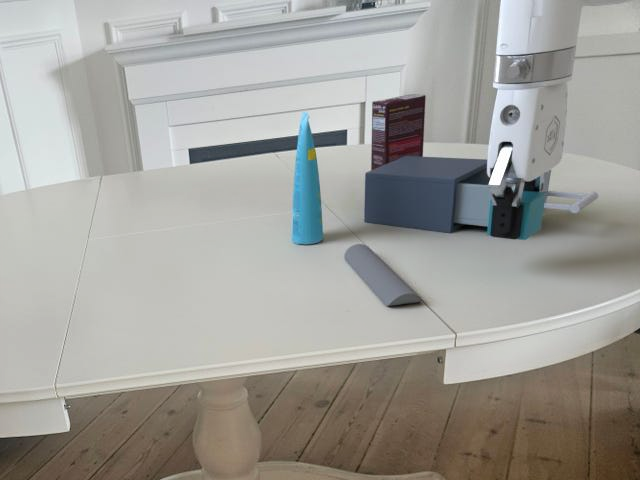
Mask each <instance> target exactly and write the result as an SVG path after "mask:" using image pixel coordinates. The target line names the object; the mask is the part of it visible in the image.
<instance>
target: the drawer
mask: <svg viewBox="0 0 640 480" xmlns="http://www.w3.org/2000/svg"><path fill="white" fill-rule="evenodd" d="M551 174H552V169H550V170H549V171H547V172H546V173H545V174H544V187H543V190H542V192H545V193H546V195H545V203H544V210H543V214H544V213H545V212H546V209H548V210H549V209H551V210H562V211H570V213H572V214H578V213H580V212H581V211H582V210H583V209H585V208H586V207H588V206H589V205H591V204H592V203H593V202H594V201H596V200H597V199H598V198H599V193H598V192H597V191H591V192H589V193H584V192H583V193H582V192H566V191H557V190H556V191H554V190H549V188H550V181H551ZM507 178H516V173H508V176H507ZM490 179H491V178H489V176H488V175H487V169H484V170H482V171H480V172H478V173H476V174H474V175H472V176H470V177H468V178H466V179H464V180H462V181H460V182H458V183H457V190H456V201H455V212H454V223H461V224H465V225H469V226H479V227H487V228H488V220H489V210H490V200H491V199H493V195H492V192H491V191H490V190H489V188H488V186H489V182H490ZM515 185H516V184H509V183H507V186H508V187H511V188H512V190H515ZM548 197H557V198H569V199H570V198H571V199H579V200H578V201H576V202H575V203H574V204H565V203H564V204H563V203H552V202H547V200H548Z"/></svg>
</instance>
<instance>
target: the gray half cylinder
mask: <svg viewBox="0 0 640 480" xmlns="http://www.w3.org/2000/svg"><path fill="white" fill-rule="evenodd" d="M344 260H345V261H346V262H347V264H349V266H350V267H351V268H352V269H353V270H354V271H355V273H357V275H358V276H359V278H361V280H362V281H364V283H365V284H366V285H367V287H369V289H370V290H371V291H372V292H373V293H374V294H375V296H377V298H378V299H379V300H380V301H381V302H382V304H384V305H385V306H388V307H389V306H398V305H408V304H414V303H422V302H423V299H422V297H421V296H420V295H419V294H418V293H417V292H416V291H415V290H414V289H413V288H412V287H411V286H410V285H409V284H408V283H406V282H405V281H404V279H402V277H400V276H399V275H398V274H397V273H396V272H395V270H393V269H392V268H391V267H390V266H389V265H388V264H387V263H386V262H385V261H384V260H383V259H382V258H381V257H380V256H379V255H378V254H376V252H375V251H373V250H372V249H371V248H370V247H369V246H368V245H366V244H363V243H356V244H352V245H351V246H349V247H348V248H347V249H346V250H345V253H344Z"/></svg>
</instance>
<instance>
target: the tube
mask: <svg viewBox="0 0 640 480" xmlns="http://www.w3.org/2000/svg"><path fill="white" fill-rule="evenodd" d="M309 119H310V115H309V114H308V112H307V111H306V110H305V109H303V110H302V114H301V119H300V123H299V129H298V136H297V143H296V153H295V163H294V164H295V165H294V176H293V192H292V211H291V213H292V215H291V242H292V243H293V244H297V245H313V244H318V243H320V242H322V241H323V239H324V230H323V229H324V228H323V227H324V226H323V210H322V209H323V208H322V195H321V184H320V174H319V165H318V157H317V152H316V151H317V150H316V147H315V142H314V138H313V133H312V129H311V125H310V122H309Z"/></svg>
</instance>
